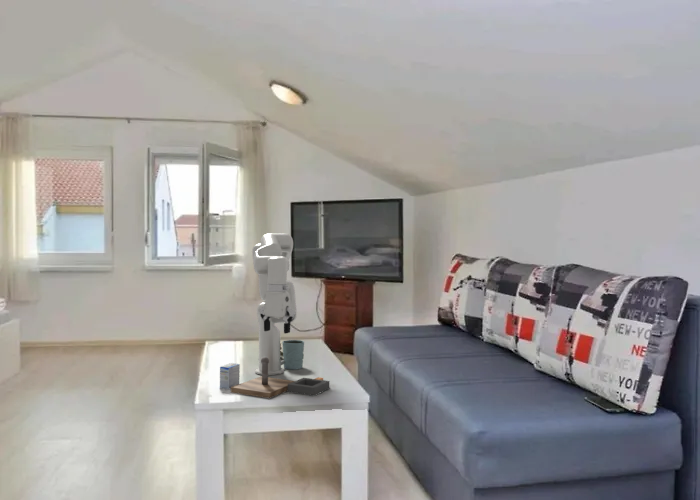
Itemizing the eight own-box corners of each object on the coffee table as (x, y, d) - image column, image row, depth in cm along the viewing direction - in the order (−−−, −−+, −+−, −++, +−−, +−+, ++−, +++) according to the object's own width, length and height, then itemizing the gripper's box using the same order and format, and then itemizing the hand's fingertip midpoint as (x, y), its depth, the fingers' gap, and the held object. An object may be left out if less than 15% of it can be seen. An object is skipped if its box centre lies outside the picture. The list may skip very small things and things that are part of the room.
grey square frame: (308, 383, 243) (308, 375, 243) (333, 386, 238) (333, 379, 238) (287, 391, 229) (287, 384, 229) (314, 395, 224) (314, 387, 224)
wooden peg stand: (260, 381, 246) (261, 350, 246) (297, 386, 238) (297, 354, 238) (230, 392, 228) (230, 359, 228) (269, 398, 220) (269, 364, 220)
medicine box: (230, 383, 242) (230, 362, 241) (239, 384, 240) (239, 363, 240) (219, 388, 234) (219, 366, 234) (229, 389, 233) (229, 367, 232)
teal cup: (300, 370, 266) (300, 343, 266) (278, 368, 268) (279, 342, 268) (306, 365, 276) (306, 340, 276) (285, 364, 278) (286, 339, 278)
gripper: (300, 289, 231) (300, 332, 231) (265, 286, 239) (265, 328, 239) (289, 290, 224) (289, 335, 224) (253, 288, 233) (253, 331, 233)
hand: (276, 331), depth 232 cm, fingers open, 9 cm apart
